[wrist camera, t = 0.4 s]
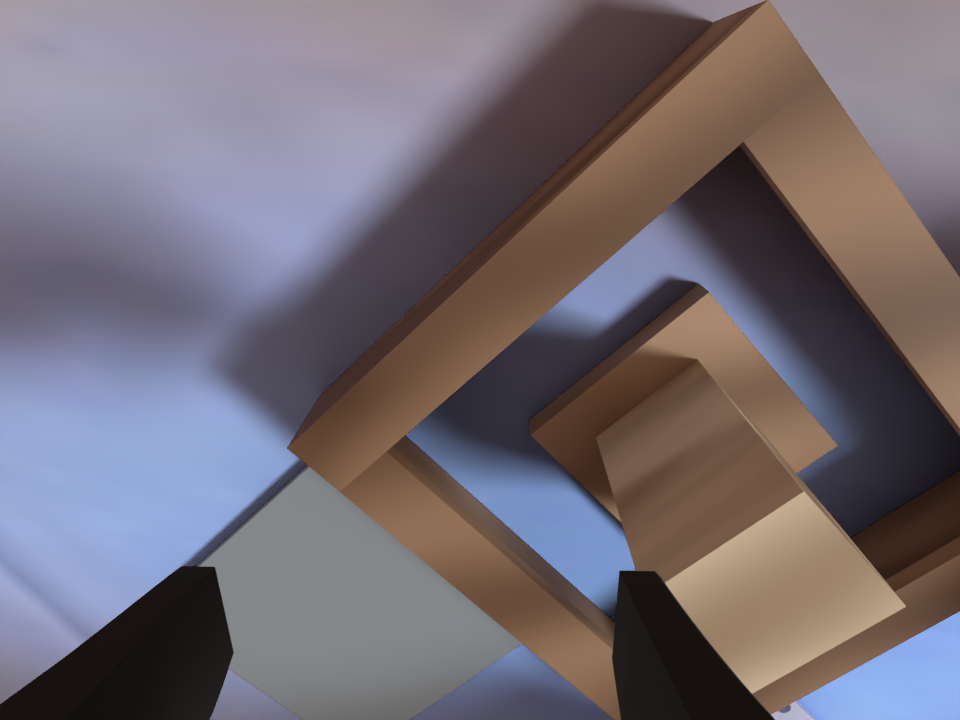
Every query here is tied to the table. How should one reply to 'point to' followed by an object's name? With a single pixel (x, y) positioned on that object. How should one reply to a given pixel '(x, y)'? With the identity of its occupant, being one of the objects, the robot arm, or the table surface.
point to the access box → (657, 346)
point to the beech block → (736, 532)
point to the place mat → (344, 612)
